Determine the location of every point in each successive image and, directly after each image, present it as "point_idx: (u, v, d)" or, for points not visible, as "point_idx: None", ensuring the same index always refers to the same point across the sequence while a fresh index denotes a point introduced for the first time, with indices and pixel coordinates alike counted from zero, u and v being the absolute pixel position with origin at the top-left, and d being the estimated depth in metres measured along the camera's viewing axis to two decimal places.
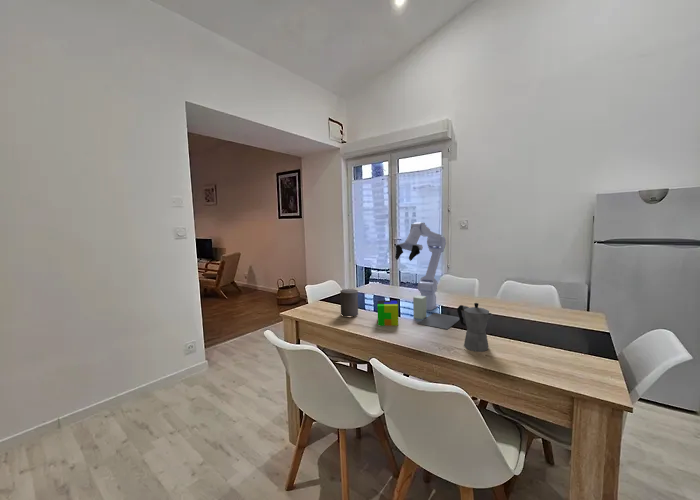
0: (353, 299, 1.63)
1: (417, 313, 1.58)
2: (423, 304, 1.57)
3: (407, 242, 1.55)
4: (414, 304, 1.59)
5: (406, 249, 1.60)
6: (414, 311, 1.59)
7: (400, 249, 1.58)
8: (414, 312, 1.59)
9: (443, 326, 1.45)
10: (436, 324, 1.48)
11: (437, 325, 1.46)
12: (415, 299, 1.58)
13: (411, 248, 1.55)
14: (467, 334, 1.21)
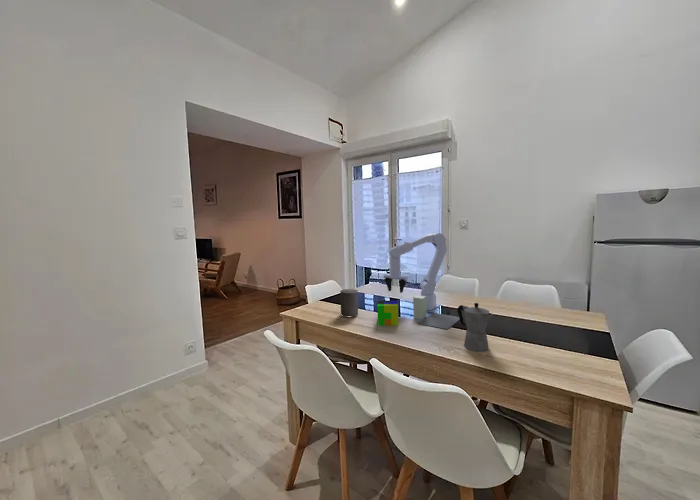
0: (353, 299, 1.63)
1: (417, 313, 1.58)
2: (423, 304, 1.57)
3: (393, 277, 1.72)
4: (414, 304, 1.59)
5: None
6: (414, 311, 1.59)
7: (389, 280, 1.77)
8: (414, 312, 1.59)
9: (443, 326, 1.45)
10: (436, 324, 1.48)
11: (437, 325, 1.46)
12: (415, 299, 1.58)
13: (398, 279, 1.73)
14: (467, 334, 1.21)
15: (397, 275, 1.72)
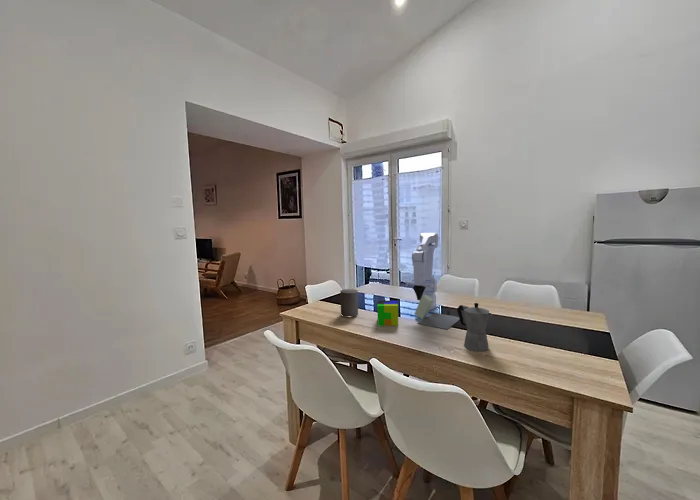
0: (353, 299, 1.63)
1: (419, 312, 1.58)
2: (428, 306, 1.56)
3: (416, 285, 1.56)
4: (420, 303, 1.57)
5: None
6: (417, 309, 1.58)
7: None
8: (417, 310, 1.58)
9: (443, 326, 1.45)
10: (436, 324, 1.48)
11: (437, 325, 1.46)
12: (423, 299, 1.56)
13: None
14: (467, 334, 1.21)
15: (421, 282, 1.56)
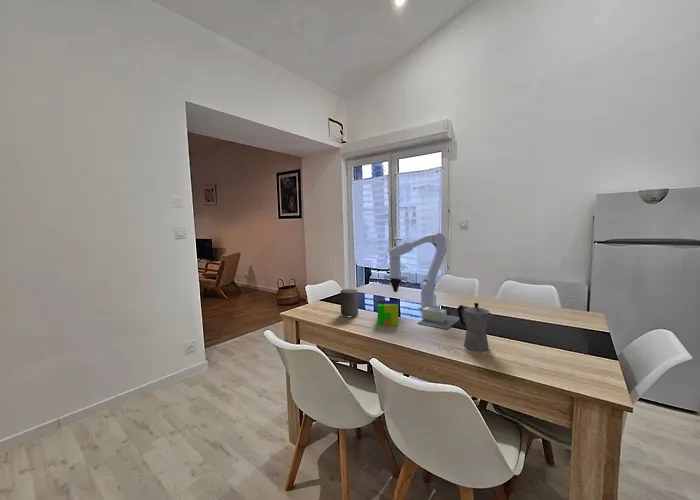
0: (353, 299, 1.63)
1: (426, 314, 1.55)
2: None
3: (393, 278, 1.72)
4: (435, 312, 1.52)
5: None
6: (428, 311, 1.54)
7: None
8: (427, 311, 1.55)
9: (443, 326, 1.45)
10: (436, 324, 1.48)
11: (437, 325, 1.46)
12: (440, 315, 1.50)
13: None
14: (467, 334, 1.21)
15: (397, 275, 1.72)
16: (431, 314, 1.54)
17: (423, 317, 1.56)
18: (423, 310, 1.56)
